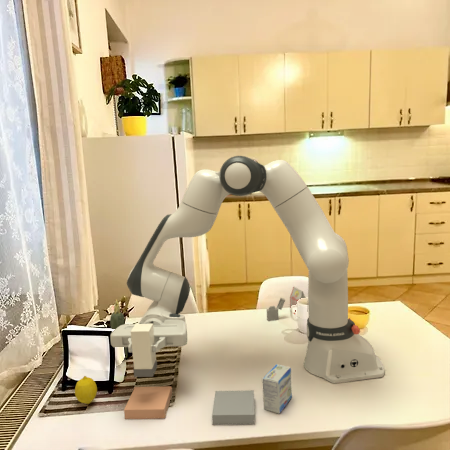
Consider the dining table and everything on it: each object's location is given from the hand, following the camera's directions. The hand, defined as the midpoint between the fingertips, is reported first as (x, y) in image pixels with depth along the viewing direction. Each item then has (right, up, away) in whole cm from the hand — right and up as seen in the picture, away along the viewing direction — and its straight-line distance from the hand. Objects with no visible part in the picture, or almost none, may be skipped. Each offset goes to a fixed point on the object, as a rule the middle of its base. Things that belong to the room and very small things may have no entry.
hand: (142, 349), depth 103 cm
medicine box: (+34, -15, +2) cm, 37 cm away
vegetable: (-13, -12, +29) cm, 34 cm away
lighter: (+40, -5, +54) cm, 67 cm away
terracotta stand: (+1, -16, +4) cm, 16 cm away
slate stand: (+23, -15, 0) cm, 27 cm away
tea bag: (+49, -4, +58) cm, 76 cm away
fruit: (-16, -16, +6) cm, 24 cm away
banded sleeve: (0, -6, +2) cm, 7 cm away
